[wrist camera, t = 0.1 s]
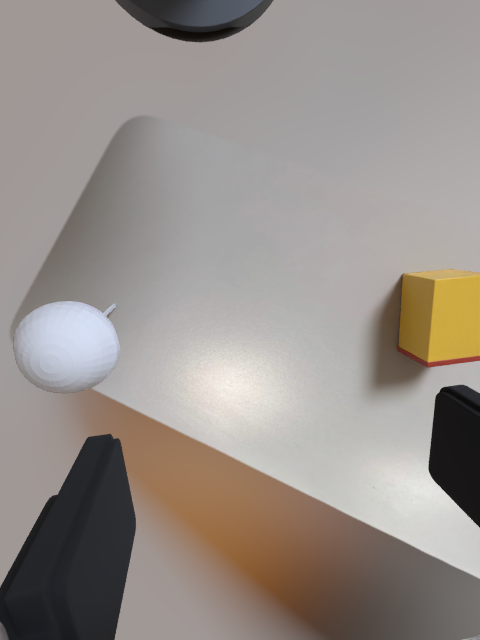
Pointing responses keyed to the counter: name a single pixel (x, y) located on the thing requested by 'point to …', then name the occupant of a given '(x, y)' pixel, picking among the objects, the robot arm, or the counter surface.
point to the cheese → (440, 317)
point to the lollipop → (66, 346)
